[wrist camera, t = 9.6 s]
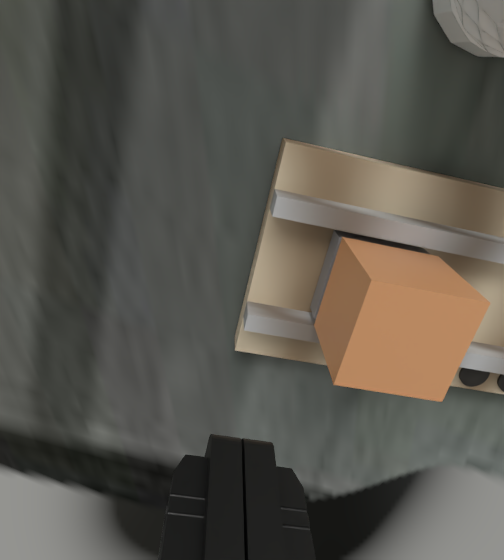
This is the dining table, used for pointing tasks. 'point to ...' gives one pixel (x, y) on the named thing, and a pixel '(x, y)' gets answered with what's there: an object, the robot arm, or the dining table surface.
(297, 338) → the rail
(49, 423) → the dining table surface
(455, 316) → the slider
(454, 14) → the white cup
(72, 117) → the dining table surface
